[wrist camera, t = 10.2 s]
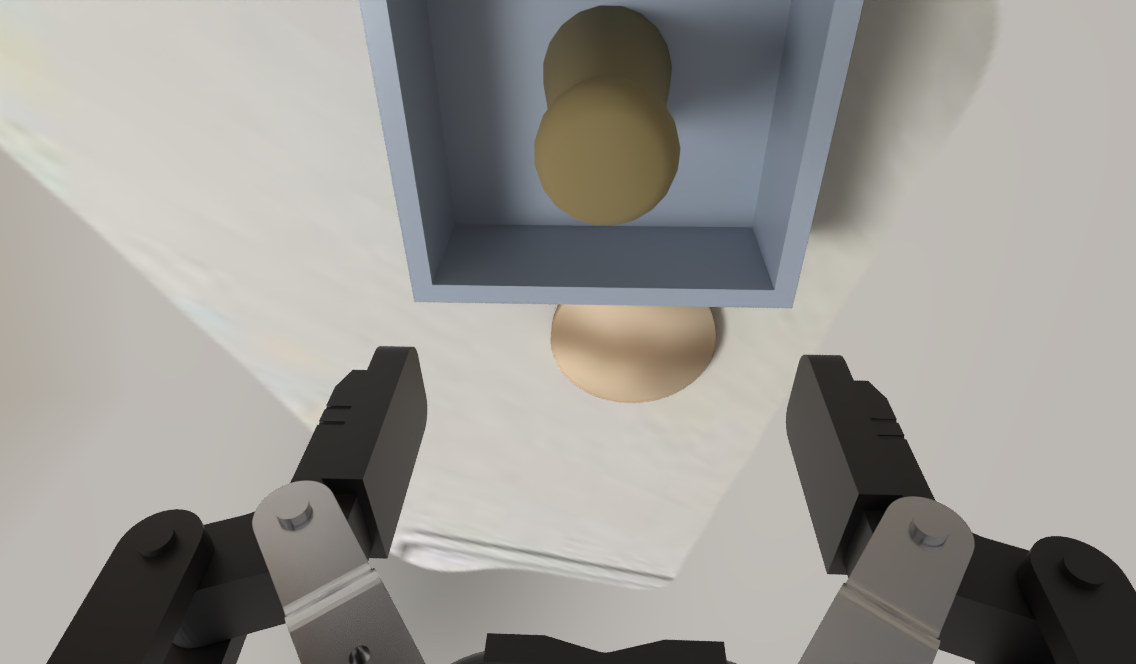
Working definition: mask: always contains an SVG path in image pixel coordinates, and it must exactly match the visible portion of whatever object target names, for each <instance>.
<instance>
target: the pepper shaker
mask: <svg viewBox="0 0 1136 664" xmlns="http://www.w3.org/2000/svg"><path fill="white" fill-rule="evenodd" d="M671 73H672V64H671V59H670V54H669V49H668V45H667V44H666V42H665V40H664V38H663V37H662V35H661V33H660V32H659V30H658V28H657V27H656V26H655V25H654V24H652V23H651V22H650V21H649V20H648V19H647V18H646V17H644V16H643V15H642V14H641V13H638V12H635V11H633V10H630V9H628V8H625V7H623V6H606V5H599V6H596V7H593V8H590V9H587V10H584V11H580V12H578V13H577V14H576V15H574V16H573V17H572V18H570V19H569V20H568V21H566V22H565V23H564V24H562V25H561V27H560V28H559V30H558V31H557V32H556V34H555V35H554V37H553V38H552V40H551V41H550V42H549V46H548V49H547V52H546V55H545V58H544V62H543V85H544V91H545V96H546V102H547V108H548V109H547V111H546V112H545V113H544V115H543V117H542V120H541V123H540V126H539V129H538V132H537V135H536V138H535V142H534V161H535V167H536V170H537V173H538V176H539V179H540V182H541V184H542V187H543V190H544V191H545V192H546V194H547V195H548V196H549V198H550V199H551V200H552V202H553V203H554V204H555V205H556V207H558V208H559V209H561V210H562V211H564V212H565V213H566V214H568V215H569V216H571V217H572V218H574V219H577V220H580V221H583V222H586V223H589V224H592V225H613V226H614V225H618V224H622V223H626V222H630V221H634V220H636V219H637V218H639V217H641V216H643V215H644V214H646V213H648V212H650V211H651V210H653V209H654V207H655V206H656V205H657V204H658V203H659V202H660V201H661V200H662V199H663V198H664V197H665V196H666V195H667V193H668V190H669V188H670V186H671V184H672V182H673V180H674V178H675V176H676V173H677V171H678V165H679V157H680V149H681V148H680V143H679V138H678V133H677V129H676V124H675V121H674V119H673V117H672V115H671V114H670V112H669V111H668V109H667V101H668V95H669V90H670V82H671Z"/></svg>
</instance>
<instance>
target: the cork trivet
mask: <svg viewBox="0 0 1136 664" xmlns="http://www.w3.org/2000/svg"><path fill="white" fill-rule="evenodd" d="M715 343H716V331H715V325H714V320H713V316H712V312H711V309H710V307H688V306H628V305H568V304H559V305H558V306H557V309H556V311H555V314H554V318H553V323H552V331H551V347H552V352H553V355H554V358H555V361H556V363H557V365H558V367H559V368H560V370H561V371H562V373H563V374H564V375H565V376H566V377H567V378H568V379H569V380H570V381H571V382H572V383H573V384H574V385H576V386H577V387H579V388H580V389H582V390H583V391H585V392H587V393H589V394H591V395H594V396H596V397H599V398H602V399H606V400H609V401H615V402H623V403H641V402H649V401H654V400H658V399H662V398H665V397H668V396H670V395H672V394H675V393H677V392H679V391H680V390H682V389H684V388H686V387H687V386H688V385H690V384H691V383H692V382H694V381H695V380H696V379H697V378H698V377H699V376H700V375H701V373H702V372H703V371H704V370H705V369H706V367H707V365H708V364H709V362H710V360H711V358H712V355H713V353H714V348H715Z"/></svg>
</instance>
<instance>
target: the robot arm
mask: <svg viewBox="0 0 1136 664" xmlns="http://www.w3.org/2000/svg"><path fill="white" fill-rule="evenodd" d="M326 406H327V408H326V409H325V410H324V412H323V414H322V416H321V418H320V420H319V422H320V423H319V425H317V427H316V429H315V431H314V433H313V435H312V438H311V440H310V442H309V444H308V446H307V448H306V451H305V453H304V455H303V457H302V459H301V461H300V463H299V465H298V468H297V470H296V472H295V474H294V476H293V478H292V480H291V482H290V483H289V484H287V485H284V486H282V487H280V488H278V489H276V490H275V491H273V492H272V493H270V494H269V495H268V496H267V497H266V498H265V499H264V500H263V501H262V502H261V503H260V504H259V506H258V507H257V509H256V511H255V512H252V513H250V514H246V515H243V516H239V517H235V518H231V519H226V520H223V521H218V522H214V523H210V524H206V525H203V523H202V521H201V520H200V518H199V517H198V516H197V515H195V514H194V513H192V512H190V511H186V510H178V509H175V510H167V511H163V512H160V513H156V514H154V515H152V516H149V517H147V518H145V519H144V520H142V521H140V522H139V523H137V524H136V525H135V526H133V527H132V528H131V529H130V530H129V531H128V532H126V534H125V535H124V536H123V537H122V538H121V539H120V541H119V542H118V544H117V545H116V547H115V549H114V551H113V552H112V554H111V556H110V557H109V559H108V561H107V562H106V564H105V566H104V567H103V569H102V571H101V572H100V574H99V576H98V577H97V579H96V581H95V582H94V584H93V586H92V588H91V589H90V591H89V593H88V594H87V597H86V598H85V599H84V601H83V603H82V605H81V606H80V608H79V609H78V611H77V613H76V615H75V616H74V618H73V620H72V621H71V623H70V625H69V627H68V628H67V630H66V631H65V633H64V635H63V637H62V638H61V640H60V642H59V643H58V645H57V647H56V649H55V650H54V652H53V653H52V655H51V657H50V658H49V660H48V662H47V663H46V664H236V663H237V660H238V657H239V655H240V652H241V649H242V647H243V644H244V641H245V639H246V636H247V634H249V633H253V632H256V631H260V630H263V629H267V628H271V627H274V626H277V625H281V624H285V623H286V625H287V627H288V630H289V633H290V635H291V638H292V641H293V643H294V646H295V649H296V651H297V654H298V657H299V659H300V662H301V664H425V662H424V660H423V658H422V656H421V654H420V652H419V650H418V649H417V647H416V645H415V643H414V641H413V639H412V637H411V635H410V633H409V631H408V630H407V628H406V626H405V624H404V622H403V620H402V618H401V616H400V614H399V612H398V610H397V609H396V607H395V605H394V603H393V601H392V599H391V597H390V595H389V593H388V591H387V589H386V588H385V586H384V584H383V582H382V580H381V578H380V576H379V574H378V573H377V571H376V570H375V569H374V568H373V569H372V568H371V566H370V564H369V563H368V560H369V558H388V554H389V551H390V548H391V544H392V541H393V537H394V534H395V530H396V527H397V523H398V520H399V517H400V513H401V510H402V506H403V503H404V499H405V496H406V492H407V489H408V486H409V482H410V479H411V475H412V472H413V468H414V465H415V462H416V458H417V455H418V451H419V448H420V444H421V441H422V437H423V434H424V431H425V427H426V421H427V399H426V394H425V389H424V384H423V378H422V373H421V368H420V363H419V358H418V354H417V350H416V349H415V347H393V346H379V347H378V348H377V349H376V351H375V353H374V355H373V358H372V360H371V362H370V365H369V367H368V369H367V370H352V371H351V372H350V373H349V374H348V375H347V376H346V377H345V378H344V379H343V380H342V381H341V382H340V383H339V384H337V385H336V386H335V388H334V390H333V393H332V395H331V397H330V399H329V401H328V403H327V405H326ZM786 429H787V436H788V440H789V443H790V447H791V450H792V454H793V457H794V461H795V464H796V468H797V471H798V475H799V478H800V481H801V485H802V488H803V492H804V495H805V499H806V502H807V506H808V509H809V513H810V516H811V520H812V523H813V526H814V530H815V533H816V537H817V540H818V544H819V547H820V551H821V554H822V558H823V561H824V564H825V568H826V571H827V574H842V575H848V580H847V582H846V583H844V584H843V585H842V587H841V588H840V590H839V592H838V593H837V595H836V597H835V598H834V601H833V602H832V604H831V606H830V607H829V609H828V611H827V613H826V615H825V616H824V618H823V620H822V622H821V624H820V625H819V627H818V629H817V631H816V632H815V634H814V636H813V638H812V640H811V641H810V643H809V645H808V647H807V649H806V650H805V652H804V654H803V656H802V657H801V659H800V661H799V663H798V664H932V663H933V661H934V658H935V656H936V653H937V651H938V649H940V650H942V651H945V652H948V653H951V654H954V655H957V656H960V657H963V658H966V659H969V660H972V661H974V662H975V664H1136V591H1135V590H1134V588H1133V587H1132V585H1131V583H1130V582H1129V580H1128V578H1127V577H1126V575H1125V574H1124V573H1123V571H1122V570H1121V569H1120V568H1119V566H1118V565H1117V564H1116V563H1115V562H1113V561H1112V560H1111V559H1110V558H1109V557H1108V556H1106V555H1105V554H1104V553H1102V552H1101V551H1099V550H1097V549H1096V548H1094V547H1092V546H1090V545H1088V544H1086V543H1084V542H1081V541H1078V540H1076V539H1072V538H1068V537H1061V536H1051V537H1045V538H1043V539H1040V540H1039V541H1037V542H1036V543H1035V544H1034V545H1033V547H1032V548H1031V549H1030V551H1028V550H1025V549H1022V548H1018V547H1015V546H1011V545H1008V544H1004V543H1001V542H997V541H994V540H990V539H987V538H984V537H981V536H979V535H976V534H974V533H972V532H971V530H970V528H969V527H968V525H967V524H966V522H965V521H964V520H963V519H962V518H961V517H960V516H959V515H958V514H957V513H956V512H954V511H953V510H951V509H950V508H948V507H947V506H945V505H943V504H941V503H939V502H937V501H936V500H935V499H934V497H933V495H932V493H931V490H930V488H929V486H928V484H927V482H926V480H925V478H924V476H923V474H922V471H921V469H920V467H919V465H918V463H917V461H916V459H915V457H914V455H913V453H912V450H911V448H910V446H909V444H908V442H907V440H906V439H904V434H903V432H902V429H901V427H900V425H899V423H897V422H896V417H895V415H894V413H893V411H892V409H891V406H890V404H889V402H888V400H887V398H886V397H885V396H883V395H882V394H881V393H880V392H879V391H878V390H877V389H876V388H875V387H874V386H873V385H872V384H871V383H870V382H869V381H854V380H853V378H852V375H851V373H850V371H849V369H848V366H847V364H846V362H845V360H844V358H843V357H842V356H840V355H803V356H802V357H801V359H800V361H799V364H798V368H797V372H796V376H795V380H794V384H793V387H792V391H791V395H790V399H789V403H788V407H787V413H786ZM452 664H736V663H733V662H730V661H727V660H726V655H725V647H724V642H716V641H714V642H712V641H687V640H686V641H685V640H662V641H657V642H653V643H648V644H644V645H640V646H635V647H631V648H627V649H622V650H618V651H613V652H608V653H603V652H598V651H594V650H591V649H588V648H585V647H581V646H578V645H575V644H571V643H568V642H565V641H562V640H558V639H555V638H552V637H548V636H545V635H520V634H517V635H516V634H491V633H488V634H487V639H486V646H485V651H483V652H479V653H475V654H472V655H470V656H467V657H464V658H462V659H460V660H458V661H456V662H454V663H452Z"/></svg>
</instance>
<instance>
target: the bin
mask: <svg viewBox="0 0 1136 664" xmlns="http://www.w3.org/2000/svg"><path fill="white" fill-rule="evenodd" d="M863 2H864V0H359V3H360V9H361V14H362V20H363V25H364V31H365V36H366V41H367V47H368V52H369V58H370V63H371V69H372V74H373V79H374V85H375V90H376V96H377V101H378V107H379V112H380V117H381V123H382V128H383V134H384V139H385V145H386V150H387V155H388V161H389V166H390V172H391V177H392V183H393V188H394V193H395V199H396V204H397V210H398V215H399V220H400V226H401V231H402V237H403V242H404V248H405V253H406V258H407V264H408V269H409V275H410V280H411V286H412V291H413V296H414V302H448V303H508V304H568V305H628V306H688V307H747V308H792V307H793V303H794V299H795V294H796V290H797V286H798V281H799V277H800V273H801V268H802V264H803V260H804V256H805V251H806V247H807V243H808V238H809V234H810V230H811V225H812V221H813V217H814V213H815V208H816V204H817V200H818V195H819V191H820V187H821V183H822V178H823V174H824V170H825V165H826V161H827V157H828V152H829V148H830V144H831V140H832V135H833V131H834V127H835V122H836V118H837V114H838V109H839V105H840V101H841V97H842V92H843V88H844V84H845V79H846V75H847V71H848V66H849V62H850V58H851V54H852V49H853V45H854V41H855V36H856V32H857V28H858V23H859V19H860V15H861V11H862V6H863ZM599 5H606V6H623V7H625V8H628V9H630V10H633V11H635V12H638V13H641V14H642V15H643V16H644V17H646V18H647V19H648V20H649V21H650V22H651V23H652V24H654V25H655V26H656V27H657V28H658V30H659V32H660V33H661V35H662V37H663V38H664V40H665V42H666V44H667V45H668V49H669V54H670V59H671V64H672V73H671V82H670V90H669V95H668V101H667V109H668V111H669V112H670V114H671V115H672V117H673V119H674V121H675V124H676V129H677V133H678V138H679V143H680V148H681V149H680V157H679V165H678V171H677V173H676V176H675V178H674V180H673V182H672V184H671V186H670V188H669V190H668V193H667V195H666V196H665V197H664V198H663V199H662V200H661V201H660V202H659V203H658V204H657V205H656V206H655V207H654V209H653V210H651V211H650V212H648V213H646V214H644V215H643V216H641V217H639V218H637V219H636V220H634V221H630V222H626V223H622V224H618V225H614V226H613V225H592V224H589V223H586V222H583V221H580V220H577V219H574V218H572V217H571V216H569V215H568V214H566V213H565V212H564V211H562V210H561V209H559V208H558V207H556V205H555V204H554V203H553V202H552V200H551V199H550V198H549V196H548V195H547V194H546V192H545V191H544V190H543V187H542V184H541V182H540V179H539V176H538V173H537V170H536V167H535V161H534V142H535V138H536V135H537V132H538V129H539V126H540V123H541V120H542V117H543V115H544V113H545V112H546V111H547V109H548V108H547V102H546V96H545V91H544V85H543V62H544V58H545V55H546V52H547V49H548V46H549V42H550V41H551V40H552V38H553V37H554V35H555V34H556V32H557V31H558V30H559V28H560V27H561V25H562V24H564V23H565V22H566V21H568V20H569V19H570V18H572V17H573V16H574V15H576V14H577V13H578V12H580V11H584V10H587V9H590V8H593V7H596V6H599Z"/></svg>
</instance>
